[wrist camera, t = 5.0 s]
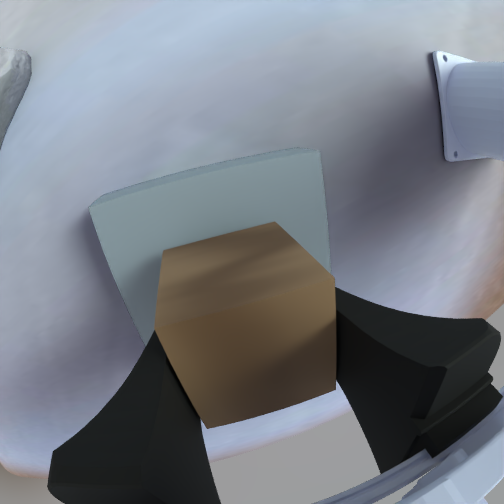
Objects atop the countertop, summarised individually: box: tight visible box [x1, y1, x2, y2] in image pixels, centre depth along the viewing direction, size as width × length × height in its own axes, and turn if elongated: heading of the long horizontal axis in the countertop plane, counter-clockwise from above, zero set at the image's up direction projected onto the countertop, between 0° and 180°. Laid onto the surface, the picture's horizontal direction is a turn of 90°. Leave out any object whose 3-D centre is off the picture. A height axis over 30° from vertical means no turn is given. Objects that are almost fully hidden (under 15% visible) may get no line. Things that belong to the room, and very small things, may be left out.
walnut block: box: [154, 221, 336, 429], centre depth 10 cm, size 4×4×5 cm
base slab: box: [88, 147, 331, 346], centre depth 15 cm, size 10×10×3 cm
